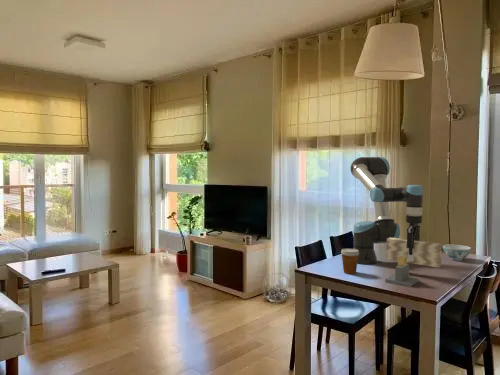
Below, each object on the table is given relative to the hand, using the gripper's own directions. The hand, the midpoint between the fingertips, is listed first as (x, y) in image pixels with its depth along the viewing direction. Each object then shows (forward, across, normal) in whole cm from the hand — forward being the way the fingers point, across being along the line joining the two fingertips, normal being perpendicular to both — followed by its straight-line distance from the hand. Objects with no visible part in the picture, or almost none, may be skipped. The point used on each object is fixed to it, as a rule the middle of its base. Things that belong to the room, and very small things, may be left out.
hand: (412, 259), depth 202 cm
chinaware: (+9, +51, -9) cm, 52 cm away
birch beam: (+1, 0, 0) cm, 1 cm away
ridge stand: (+8, -16, 0) cm, 18 cm away
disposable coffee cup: (+8, -17, +27) cm, 33 cm away
